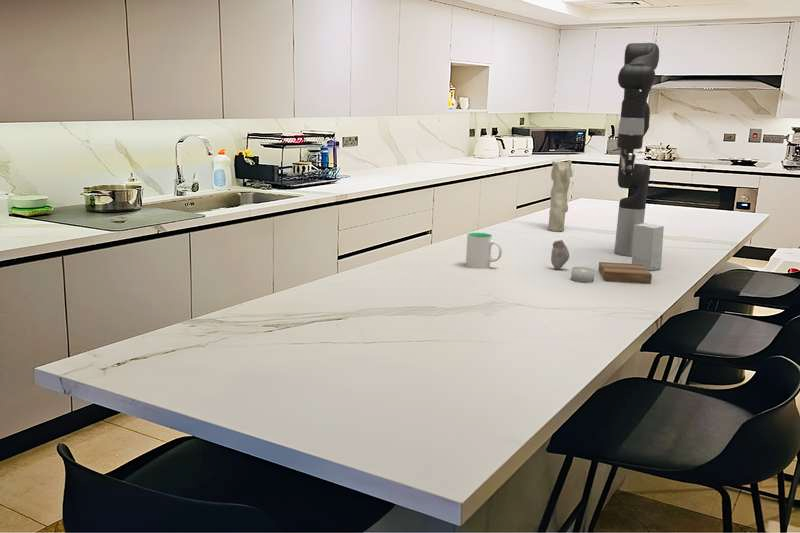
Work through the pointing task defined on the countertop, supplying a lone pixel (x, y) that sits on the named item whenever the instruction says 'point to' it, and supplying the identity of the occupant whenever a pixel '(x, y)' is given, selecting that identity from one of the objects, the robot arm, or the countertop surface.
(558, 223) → the beige tall lumpy column
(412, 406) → the countertop surface
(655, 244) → the skincare box
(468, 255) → the mug
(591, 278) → the pale grey round piece
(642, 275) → the walnut block
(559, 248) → the grey rock
